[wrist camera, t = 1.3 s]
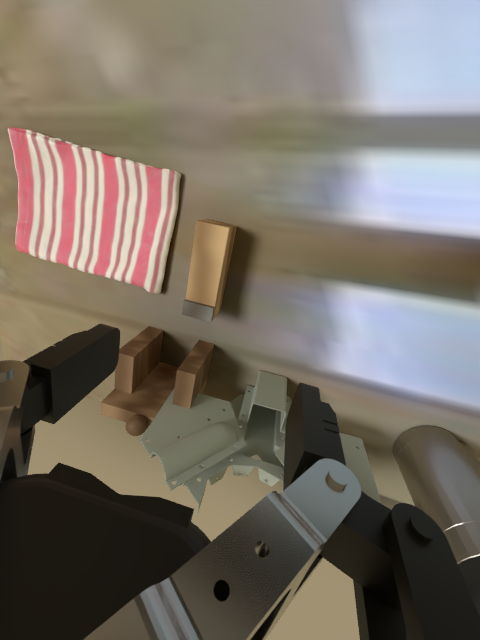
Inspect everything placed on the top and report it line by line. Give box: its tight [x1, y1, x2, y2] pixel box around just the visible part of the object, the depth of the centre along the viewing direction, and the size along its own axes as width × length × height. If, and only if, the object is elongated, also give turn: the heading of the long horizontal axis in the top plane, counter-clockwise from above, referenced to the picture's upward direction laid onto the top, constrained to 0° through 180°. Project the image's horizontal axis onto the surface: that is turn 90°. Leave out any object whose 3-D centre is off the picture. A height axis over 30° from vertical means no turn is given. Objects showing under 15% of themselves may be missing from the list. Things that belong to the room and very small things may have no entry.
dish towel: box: [8, 128, 182, 294], centre depth 39 cm, size 17×23×4 cm
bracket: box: [140, 371, 382, 516], centre depth 36 cm, size 28×7×20 cm, turn 79°
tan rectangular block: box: [182, 219, 237, 322], centre depth 37 cm, size 4×12×6 cm, turn 168°
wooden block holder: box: [101, 326, 214, 438], centre depth 39 cm, size 11×8×14 cm
